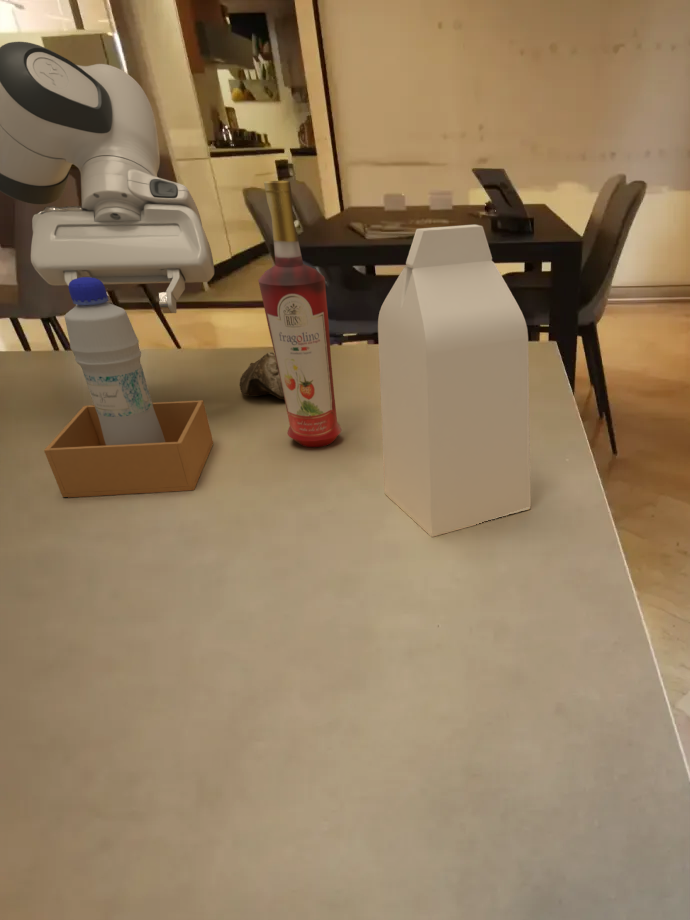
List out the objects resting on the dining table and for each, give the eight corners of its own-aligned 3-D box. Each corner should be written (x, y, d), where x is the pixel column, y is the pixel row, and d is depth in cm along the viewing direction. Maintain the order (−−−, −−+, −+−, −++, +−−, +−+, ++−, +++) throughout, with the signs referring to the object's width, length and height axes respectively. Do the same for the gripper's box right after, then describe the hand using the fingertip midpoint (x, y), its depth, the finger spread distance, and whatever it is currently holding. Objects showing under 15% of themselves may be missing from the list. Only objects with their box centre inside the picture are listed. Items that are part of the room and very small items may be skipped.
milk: (431, 537, 70) (417, 241, 54) (384, 493, 78) (360, 224, 62) (530, 509, 75) (544, 231, 59) (477, 471, 83) (476, 216, 67)
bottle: (99, 471, 81) (31, 281, 69) (137, 450, 86) (81, 269, 74) (147, 479, 80) (87, 285, 67) (184, 457, 85) (134, 273, 73)
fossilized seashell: (319, 375, 104) (274, 376, 109) (291, 340, 98) (245, 342, 104) (295, 415, 102) (250, 413, 107) (266, 381, 96) (220, 381, 102)
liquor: (286, 453, 87) (238, 185, 70) (287, 432, 93) (243, 179, 75) (345, 449, 88) (312, 184, 71) (343, 428, 94) (312, 178, 77)
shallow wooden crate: (62, 498, 77) (43, 450, 74) (99, 449, 88) (83, 405, 85) (194, 490, 79) (181, 443, 75) (213, 443, 90) (203, 400, 86)
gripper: (18, 187, 81) (20, 297, 79) (200, 186, 84) (206, 293, 82) (45, 226, 87) (48, 329, 86) (214, 224, 90) (220, 324, 88)
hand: (127, 311), depth 84 cm, fingers open, 8 cm apart
